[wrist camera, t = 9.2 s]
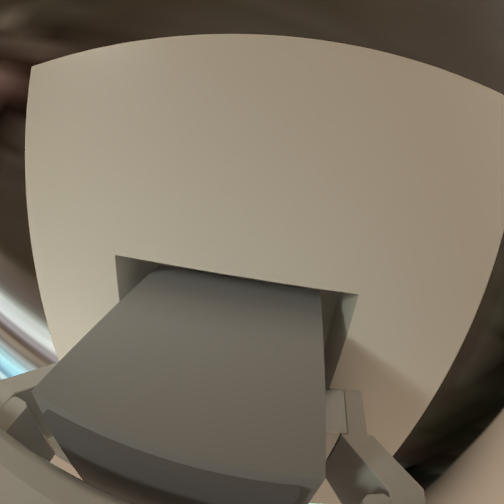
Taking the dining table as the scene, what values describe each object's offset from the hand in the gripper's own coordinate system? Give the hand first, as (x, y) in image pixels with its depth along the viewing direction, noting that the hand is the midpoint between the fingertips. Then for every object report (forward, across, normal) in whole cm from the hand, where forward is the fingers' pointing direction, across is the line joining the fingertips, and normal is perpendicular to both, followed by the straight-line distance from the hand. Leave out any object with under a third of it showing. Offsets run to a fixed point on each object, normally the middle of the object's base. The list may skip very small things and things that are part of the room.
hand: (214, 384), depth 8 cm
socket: (+4, 0, 0) cm, 4 cm away
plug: (+2, 0, 0) cm, 2 cm away
